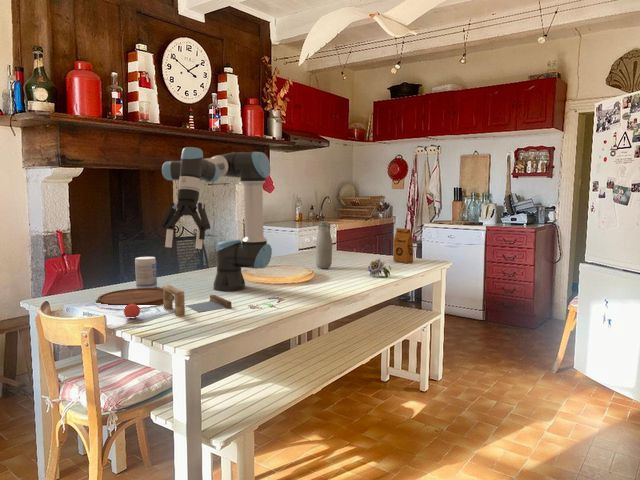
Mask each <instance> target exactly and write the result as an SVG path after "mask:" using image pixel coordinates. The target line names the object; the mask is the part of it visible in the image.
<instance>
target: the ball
mask: <svg viewBox="0 0 640 480" xmlns="http://www.w3.org/2000/svg"><path fill="white" fill-rule="evenodd" d="M140 313H141V309H139V307H138V306H137V305H136V304H129V305H127V306H126V307H125V309H124V310H123V314H124V317H126V318H127V317H136V316H138V315H139V316H140ZM139 316H138V317H139ZM136 318H137V317H136Z"/></svg>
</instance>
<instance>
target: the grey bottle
mask: <svg viewBox="0 0 640 480" xmlns="http://www.w3.org/2000/svg"><path fill="white" fill-rule="evenodd" d="M317 229H318V233H317V236H316V240H315V265H316V267H317V268H319V269H321V270H325V269H326V270H327V269H329V268H330V267H331V266H332V261H333V239H332V235H331V223H330V222H328V221H320V222H318V226H317Z"/></svg>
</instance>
